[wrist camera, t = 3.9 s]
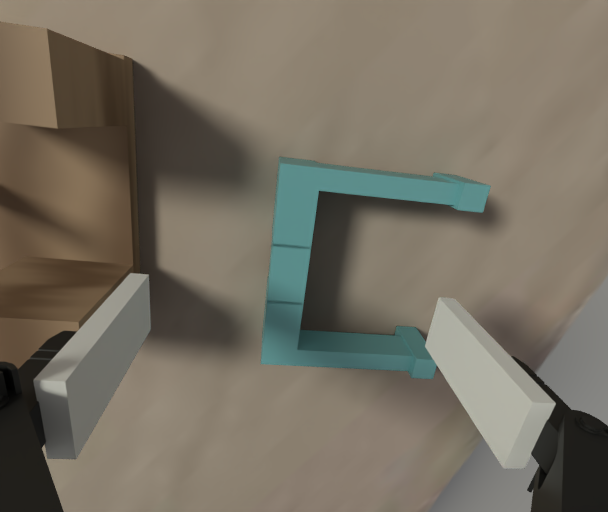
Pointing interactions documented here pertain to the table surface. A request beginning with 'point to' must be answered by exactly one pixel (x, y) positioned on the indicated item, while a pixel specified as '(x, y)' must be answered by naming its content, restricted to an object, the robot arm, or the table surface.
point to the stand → (62, 184)
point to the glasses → (296, 254)
